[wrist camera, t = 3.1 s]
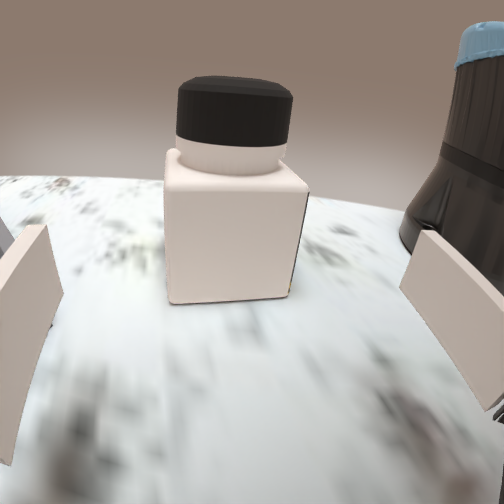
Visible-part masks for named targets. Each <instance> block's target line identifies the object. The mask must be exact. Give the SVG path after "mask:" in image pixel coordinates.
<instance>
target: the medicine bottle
mask: <svg viewBox="0 0 504 504" xmlns="http://www.w3.org/2000/svg"><path fill="white" fill-rule="evenodd" d="M292 102H293V96H292V95H291V93H290V91H289V90H287V89H286V88H284V87H283V86H281V85H280V84H278V83H274V82H270V81H266V80H261V79H253V78H241V77H227V76H204V77H195V78H193V79H191V80H189V81H187V82H184V83H183V84H182V85H181V86H180V87H179V90H178V107H177V125H176V149H169V150H168V151H167V154H166V163H165V176H164V234H165V258H166V276H167V291H168V299H169V301H170V302H171V303H173V304H184V303H203V302H221V301H236V300H251V299H265V298H277V297H285V296H287V295H288V293H289V290H290V286H291V281H292V276H293V272H294V267H295V262H296V258H297V253H298V248H299V243H300V238H301V233H302V228H303V223H304V218H305V213H306V207H307V202H308V197H309V187H308V186H307V184H306V183H305V182H304V181H302V179H300V178H299V177H298V176H297V175H296V174H295V173H294V172H293V171H292V170H291V169H289V168H288V167H287V166H286V165H285V164H284V163H283V162H282V161H280V160H279V159H281V158H283V157H284V156H285V152H286V145H287V138H288V131H289V124H290V116H291V109H292Z"/></svg>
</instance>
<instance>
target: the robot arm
mask: <svg viewBox="0 0 504 504" xmlns="http://www.w3.org/2000/svg"><path fill="white" fill-rule="evenodd" d="M454 70H455V71H456V77H455V83H454V89H453V95H452V100H451V106H450V110H449V116H448V120H447V125H446V130H445V133H444V138H443V142H442V147H441V150H440V154H439V158H438V162H437V164H436V166H435V167H434V169H433V171H432V172H431V174H430V175H429V177H428V178H427V180H426V181H425V183H424V184H423V186H422V187H421V189H420V190H419V192H418V193H417V194H416V196H415V197H414V199H413V200H412V202H411V203H410V204H409V206H408V208H407V209H406V212H405V215H404V218H403V221H402V224H401V227H400V236H401V239H402V241H403V242H404V244H405V245H406V247H407V248H408V249H409V251H410V252H411V253H412V256H411V259H410V261H409V264H408V266H407V269H406V271H405V274H404V276H403V279H402V281H401V283H400V286H399V288H400V290H401V291H402V292H403V293H404V295H405V296H406V297H407V299H408V300H409V301H410V303H411V304H412V305H413V307H414V308H415V309H416V311H417V312H418V313H419V315H420V316H421V317H422V319H423V320H424V321H425V323H426V324H427V325H428V327H429V328H430V330H431V331H432V332H433V334H434V335H435V337H436V338H437V339H438V341H439V342H440V344H441V345H442V347H443V348H444V349H445V351H446V352H447V354H448V355H449V357H450V358H451V360H452V361H453V363H454V364H455V366H456V367H457V369H458V370H459V372H460V373H461V375H462V376H463V378H464V379H465V381H466V382H467V384H468V385H469V387H470V389H471V390H472V392H473V393H474V395H475V397H476V398H477V400H478V401H479V403H480V405H481V406H482V408H483V410H484V411H485V412H486V411H488V410H489V409H491V408H493V407H495V406H496V405H498V404H499V403H500V402H501V401H502V399H503V398H504V22H496V21H493V22H492V21H491V22H482V23H477V24H474V25H472V26H470V27H468V28H467V29H466V30H465V31H464V32H463V34H462V36H461V41H460V47H459V53H458V59H457V62H456V63H455V65H454ZM63 294H64V292H63V289H62V286H61V282H60V279H59V275H58V271H57V267H56V263H55V259H54V255H53V251H52V247H51V243H50V238H49V233H48V228H47V224H43V225H27V226H26V228H25V229H24V230H23V231H22V232H21V234H20V235H19V236H18V237H17V239H16V240H15V241H14V242H13V244H12V245H11V246H10V247H9V249H8V250H7V251H6V253H5V254H4V255H3V256H2V258H1V259H0V463H2V464H5V465H8V466H11V465H12V459H13V454H14V448H15V443H16V439H17V434H18V430H19V425H20V421H21V417H22V413H23V409H24V405H25V402H26V398H27V395H28V391H29V388H30V384H31V381H32V378H33V374H34V371H35V368H36V365H37V362H38V359H39V356H40V353H41V350H42V348H43V345H44V342H45V339H46V337H47V334H48V331H49V329H50V326H51V323H52V321H53V318H54V316H55V313H56V311H57V309H58V306H59V304H60V301H61V299H62V297H63ZM502 413H504V405H503V406H502V407H501V408H500V409H499V410H498V411H497V412H496V413H495V414H494V416H493V420H494V421H495V420H496V419H497V418H498V417H499V416H500V415H501V414H502ZM498 422H500V423H503V424H504V414H503V415H502V416H501V417H500V418H499V420H498ZM499 504H504V466H503V476H502V485H501V492H500V499H499Z"/></svg>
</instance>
